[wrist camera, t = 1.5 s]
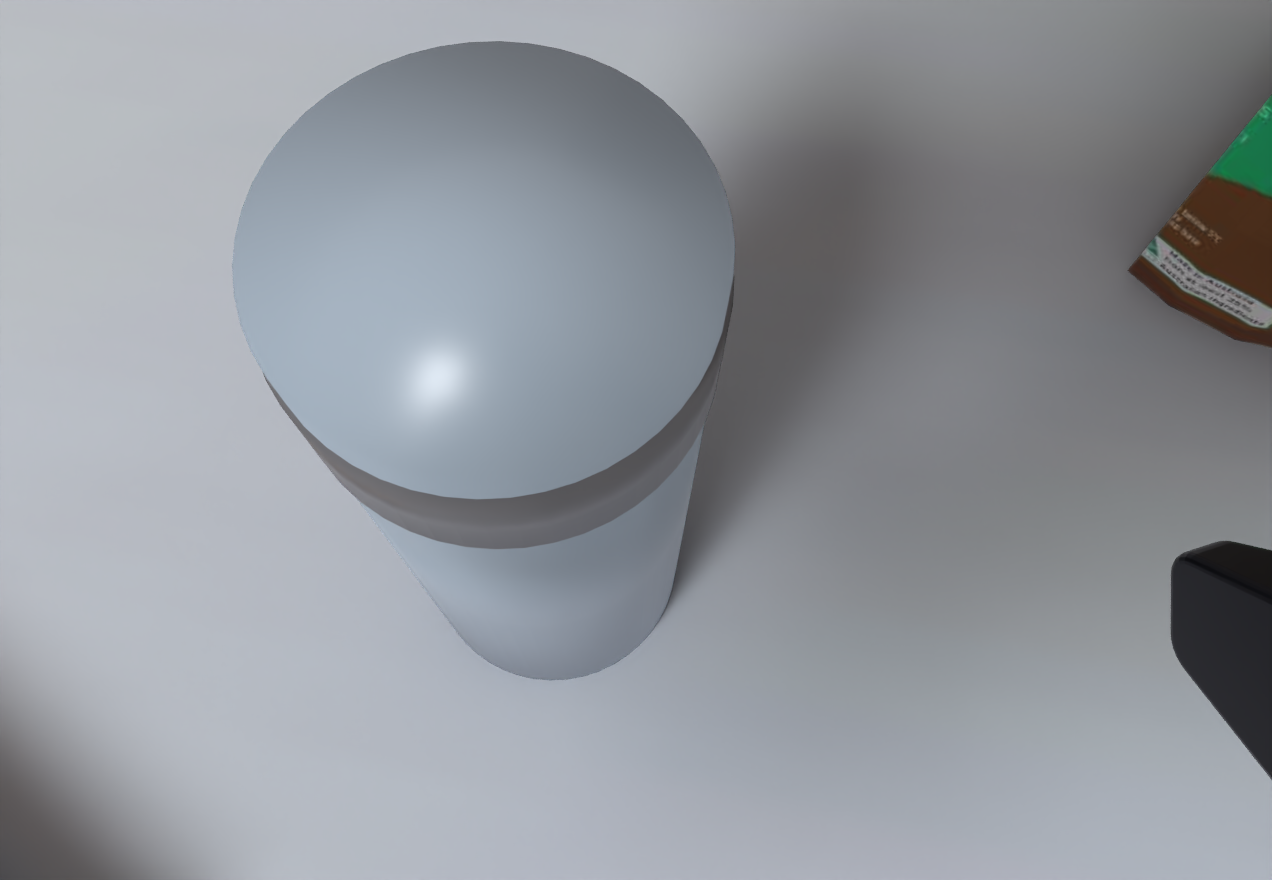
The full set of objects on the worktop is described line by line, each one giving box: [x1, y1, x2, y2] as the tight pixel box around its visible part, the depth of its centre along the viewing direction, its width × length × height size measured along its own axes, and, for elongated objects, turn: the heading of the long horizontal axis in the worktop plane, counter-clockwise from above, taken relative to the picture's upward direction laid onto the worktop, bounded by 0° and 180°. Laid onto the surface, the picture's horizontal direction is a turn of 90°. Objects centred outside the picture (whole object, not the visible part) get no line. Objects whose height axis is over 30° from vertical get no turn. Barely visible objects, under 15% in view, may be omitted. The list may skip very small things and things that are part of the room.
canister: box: [232, 41, 735, 680], centre depth 16 cm, size 5×5×12 cm
